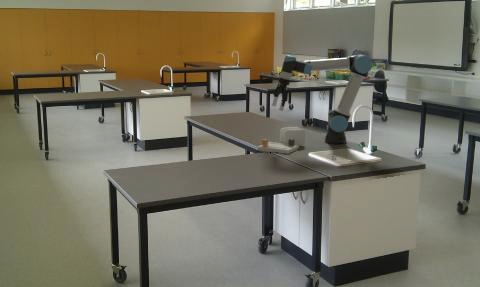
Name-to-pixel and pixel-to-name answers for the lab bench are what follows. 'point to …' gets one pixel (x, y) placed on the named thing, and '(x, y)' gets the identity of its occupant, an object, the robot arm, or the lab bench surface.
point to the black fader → (291, 142)
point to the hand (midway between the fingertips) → (277, 108)
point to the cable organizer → (292, 135)
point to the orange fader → (265, 142)
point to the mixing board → (278, 147)
